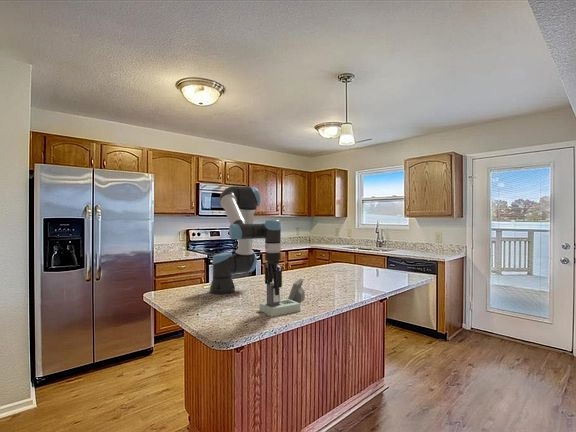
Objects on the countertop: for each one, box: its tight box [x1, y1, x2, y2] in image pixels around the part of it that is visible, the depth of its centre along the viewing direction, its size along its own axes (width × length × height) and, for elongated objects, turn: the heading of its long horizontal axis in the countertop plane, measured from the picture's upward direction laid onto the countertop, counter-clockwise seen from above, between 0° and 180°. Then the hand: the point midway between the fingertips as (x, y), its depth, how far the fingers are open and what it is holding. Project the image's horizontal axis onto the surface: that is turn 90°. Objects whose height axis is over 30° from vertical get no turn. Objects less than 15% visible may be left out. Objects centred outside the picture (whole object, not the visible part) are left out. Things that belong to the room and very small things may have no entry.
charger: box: [266, 282, 281, 307], centre depth 155 cm, size 4×4×11 cm
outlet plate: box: [259, 298, 301, 317], centre depth 157 cm, size 12×16×4 cm
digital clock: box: [287, 278, 306, 303], centre depth 177 cm, size 16×9×11 cm, turn 154°
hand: (273, 300), depth 155 cm, fingers closed on charger, 4 cm apart
